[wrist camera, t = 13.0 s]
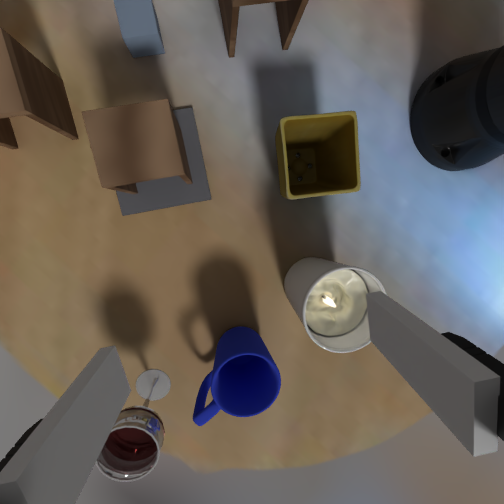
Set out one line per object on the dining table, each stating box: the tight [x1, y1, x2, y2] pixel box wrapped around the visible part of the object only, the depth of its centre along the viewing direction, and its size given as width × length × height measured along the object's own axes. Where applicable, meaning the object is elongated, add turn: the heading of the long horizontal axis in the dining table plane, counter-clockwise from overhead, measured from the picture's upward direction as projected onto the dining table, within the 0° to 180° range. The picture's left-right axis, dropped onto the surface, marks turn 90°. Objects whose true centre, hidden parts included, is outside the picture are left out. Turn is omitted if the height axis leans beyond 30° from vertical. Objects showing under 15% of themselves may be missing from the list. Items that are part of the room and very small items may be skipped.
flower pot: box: [275, 111, 361, 200], centre depth 35 cm, size 9×9×9 cm
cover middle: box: [82, 99, 193, 194], centre depth 32 cm, size 8×7×10 cm
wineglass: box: [96, 369, 171, 482], centre depth 35 cm, size 7×7×12 cm
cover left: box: [0, 27, 79, 149], centre depth 30 cm, size 8×7×10 cm
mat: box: [116, 108, 211, 216], centre depth 37 cm, size 12×12×1 cm
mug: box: [193, 327, 281, 426], centre depth 37 cm, size 8×12×10 cm
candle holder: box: [284, 257, 387, 353], centre depth 36 cm, size 10×10×12 cm
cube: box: [114, 0, 165, 58], centre depth 33 cm, size 4×4×4 cm
